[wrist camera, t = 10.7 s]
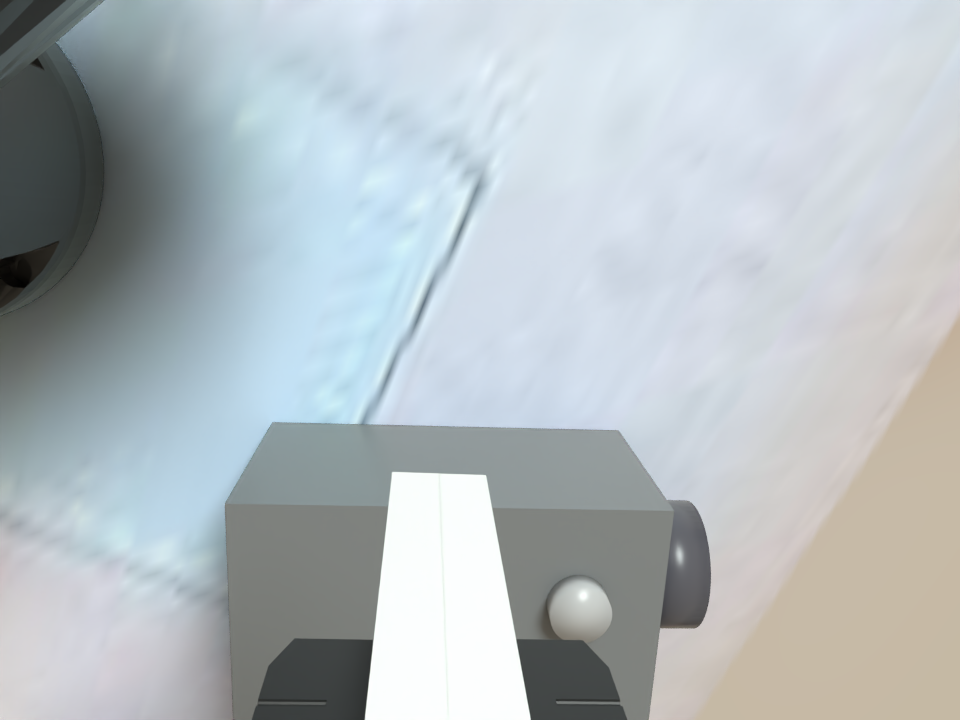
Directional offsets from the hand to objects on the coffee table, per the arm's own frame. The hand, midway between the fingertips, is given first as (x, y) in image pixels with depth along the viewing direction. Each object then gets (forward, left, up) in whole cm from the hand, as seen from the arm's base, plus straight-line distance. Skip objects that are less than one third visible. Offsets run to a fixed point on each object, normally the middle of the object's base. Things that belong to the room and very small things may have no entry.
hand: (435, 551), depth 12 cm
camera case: (+2, -13, -24) cm, 28 cm away
